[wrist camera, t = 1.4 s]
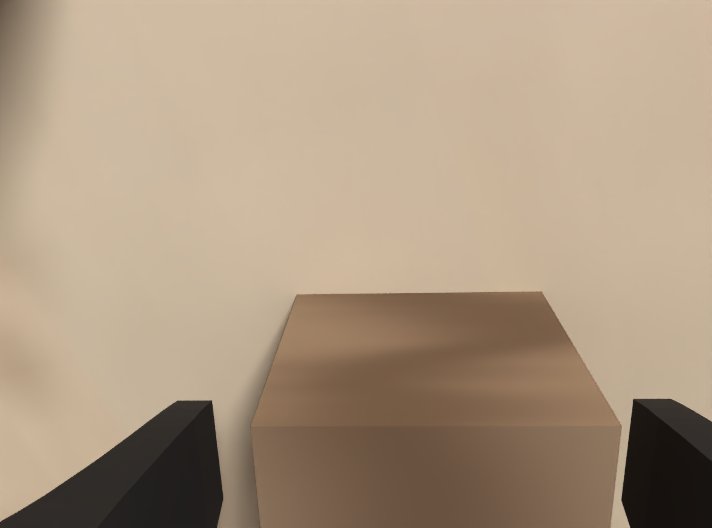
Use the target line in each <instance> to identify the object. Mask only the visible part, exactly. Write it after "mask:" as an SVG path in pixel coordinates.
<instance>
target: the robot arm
mask: <svg viewBox="0 0 712 528" xmlns="http://www.w3.org/2000/svg"><path fill="white" fill-rule="evenodd" d="M621 501H622V504H623V507H624V510H625V513H626V516H627V519H628V522H629V525H630V528H712V422H711V421H710V420H708V419H706V418H705V417H703V416H701V415H700V414H698V413H696V412H695V411H693V410H691V409H689V408H687V407H686V406H684V405H682V404H680V403H678V402H676V401H674V400H672V399H633V407H632V416H631V424H630V432H629V441H628V449H627V457H626V466H625V474H624V482H623V491H622V499H621ZM222 502H223V492H222V483H221V475H220V466H219V457H218V449H217V440H216V431H215V423H214V414H213V405H212V401H177V402H175V403H173V404H172V405H170V406H169V407H167V408H166V409H165V410H163V411H162V412H160V413H159V414H158V415H156V416H155V417H154V418H152V419H151V420H150V421H148V422H147V423H146V424H144V425H143V426H142V427H140V428H139V429H138V430H137V431H135V432H134V433H133V434H131V435H130V436H129V437H127V438H126V439H125V440H123V441H122V442H120V443H119V444H118V445H116V446H115V447H114V448H112V449H111V450H110V451H108V452H107V453H106V454H104V455H103V456H102V457H100V458H99V459H98V460H96V461H95V462H93V463H92V464H90V465H89V466H87V467H86V468H84V469H83V470H82V471H80V472H79V473H77V474H76V475H74V476H73V477H71V478H70V479H68V480H67V481H65V482H64V483H62V484H61V485H59V486H58V487H56V488H55V489H54V490H52V491H51V492H49V493H48V494H46V495H45V496H43V497H41V498H40V499H38V500H37V501H35V502H33V503H32V504H30V505H28V506H27V507H25V508H23V509H22V510H20V511H18V512H17V513H15V514H13V515H11V516H10V517H8V518H6V519H4V520H2V521H1V522H0V528H217V524H218V520H219V515H220V511H221V506H222Z"/></svg>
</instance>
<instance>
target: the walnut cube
mask: <svg viewBox="0 0 712 528" xmlns="http://www.w3.org/2000/svg"><path fill="white" fill-rule="evenodd" d="M621 427H622V426H621V424H620V422H619V421H618V419H617V417H616V416H615V414H614V412H613V410H612V409H611V407H610V405H609V404H608V402H607V400H606V399H605V397H604V395H603V394H602V392H601V390H600V389H599V387H598V385H597V384H596V382H595V380H594V379H593V377H592V375H591V374H590V372H589V370H588V369H587V367H586V365H585V364H584V362H583V360H582V359H581V357H580V355H579V354H578V352H577V350H576V348H575V347H574V345H573V343H572V342H571V340H570V338H569V337H568V335H567V333H566V332H565V330H564V328H563V327H562V325H561V323H560V322H559V320H558V318H557V317H556V315H555V313H554V312H553V310H552V308H551V307H550V305H549V303H548V302H547V300H546V298H545V297H544V295H543V293H542V292H471V293H389V294H308V295H297V296H296V299H295V302H294V304H293V307H292V310H291V313H290V316H289V319H288V322H287V324H286V327H285V330H284V333H283V336H282V339H281V341H280V344H279V347H278V350H277V353H276V356H275V358H274V361H273V364H272V367H271V370H270V373H269V375H268V378H267V381H266V384H265V387H264V390H263V392H262V395H261V398H260V401H259V404H258V407H257V410H256V412H255V415H254V418H253V421H252V424H251V437H252V448H253V458H254V468H255V479H256V489H257V500H258V510H259V520H260V528H610V525H611V516H612V507H613V498H614V490H615V481H616V472H617V463H618V454H619V445H620V436H621Z"/></svg>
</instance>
